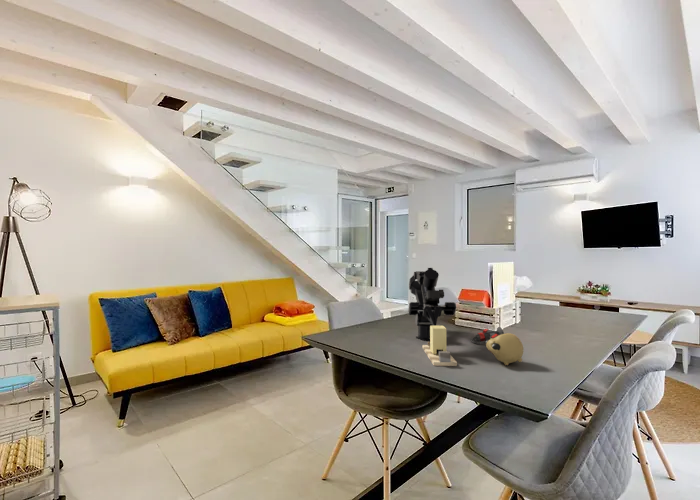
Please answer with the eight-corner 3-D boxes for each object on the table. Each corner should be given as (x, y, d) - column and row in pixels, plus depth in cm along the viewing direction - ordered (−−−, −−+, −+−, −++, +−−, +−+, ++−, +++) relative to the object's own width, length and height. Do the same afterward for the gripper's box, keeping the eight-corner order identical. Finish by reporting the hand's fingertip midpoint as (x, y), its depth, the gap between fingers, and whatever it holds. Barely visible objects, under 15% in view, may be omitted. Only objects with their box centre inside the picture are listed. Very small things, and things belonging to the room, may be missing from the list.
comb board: (422, 347, 140) (422, 337, 140) (442, 347, 140) (441, 337, 140) (433, 365, 118) (433, 353, 118) (456, 365, 118) (456, 353, 118)
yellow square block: (430, 350, 132) (430, 325, 132) (443, 350, 132) (443, 325, 132) (432, 354, 127) (432, 328, 127) (446, 354, 127) (446, 328, 127)
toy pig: (482, 358, 126) (482, 329, 126) (515, 358, 126) (515, 329, 126) (493, 367, 116) (493, 336, 116) (528, 367, 116) (528, 336, 116)
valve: (465, 341, 158) (497, 336, 158) (486, 362, 132) (525, 356, 132) (463, 328, 158) (495, 323, 157) (484, 346, 132) (522, 340, 131)
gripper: (409, 282, 141) (413, 314, 129) (454, 282, 140) (462, 314, 129) (406, 299, 148) (410, 330, 137) (450, 299, 148) (457, 330, 137)
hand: (435, 326), depth 135 cm, fingers closed
